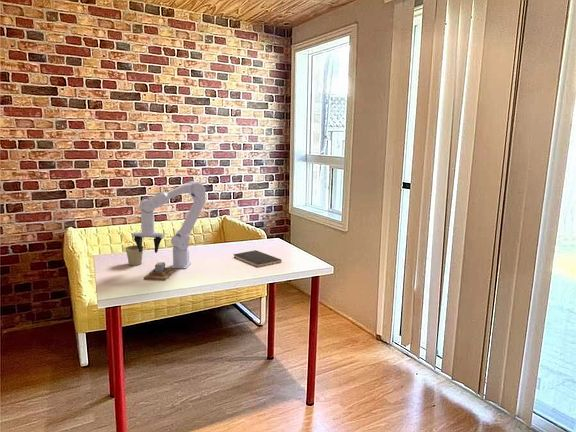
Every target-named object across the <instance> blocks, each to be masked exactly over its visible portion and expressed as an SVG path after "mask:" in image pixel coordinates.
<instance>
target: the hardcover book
mask: <svg viewBox="0 0 576 432" xmlns="http://www.w3.org/2000/svg"><path fill="white" fill-rule="evenodd" d="M233 257H234V258H235V257H236V258H235V259H237V258H238V259H237V260H239V261H242V260H243V261H242V262H244V261H245V262H244V263H247V264H249V263H250V265H252V266H254V265H255V266H254V267H256V266H257V268H259V266H260V267H264V266H263V265H265V266H269V265H268V264H270V265H273V264H272V263H275V264H278V263H277V262H280V263H282V259H281V258H278V257H275V256H273V255H270V254H267V253H265V252H262V251H258V250H250V251H244V252H239V253H233Z"/></svg>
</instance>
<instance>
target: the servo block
mask: <svg viewBox="0 0 576 432" xmlns="http://www.w3.org/2000/svg"><path fill="white" fill-rule="evenodd" d="M165 268H166V262H164V261H163V262H161V261H158V262H156V263H155V265H154V269H155V272H161V273H162V272H164V271H165Z"/></svg>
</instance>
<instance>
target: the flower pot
mask: <svg viewBox="0 0 576 432" xmlns="http://www.w3.org/2000/svg"><path fill="white" fill-rule="evenodd" d="M144 249H145V246H143V245H142V252H139V249H138V246H137V244H135V245H129V246H126V247H124V250H125V252H126V256H127V262H128V265H130V266H139V265H142V262H143V252H144Z"/></svg>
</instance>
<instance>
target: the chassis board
mask: <svg viewBox="0 0 576 432" xmlns="http://www.w3.org/2000/svg"><path fill="white" fill-rule="evenodd" d="M175 272H176V268H170V267H165V271H164V272H162V273H161V272H155V268H153V269H152V270H151V271H150V272H149V273H147V274H146V275H145V276H144V277H143V279H144V280H147V281H148V280H149V281H167V279H169V278H170V277H171V276H172V275H173V274H174V273H175Z"/></svg>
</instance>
